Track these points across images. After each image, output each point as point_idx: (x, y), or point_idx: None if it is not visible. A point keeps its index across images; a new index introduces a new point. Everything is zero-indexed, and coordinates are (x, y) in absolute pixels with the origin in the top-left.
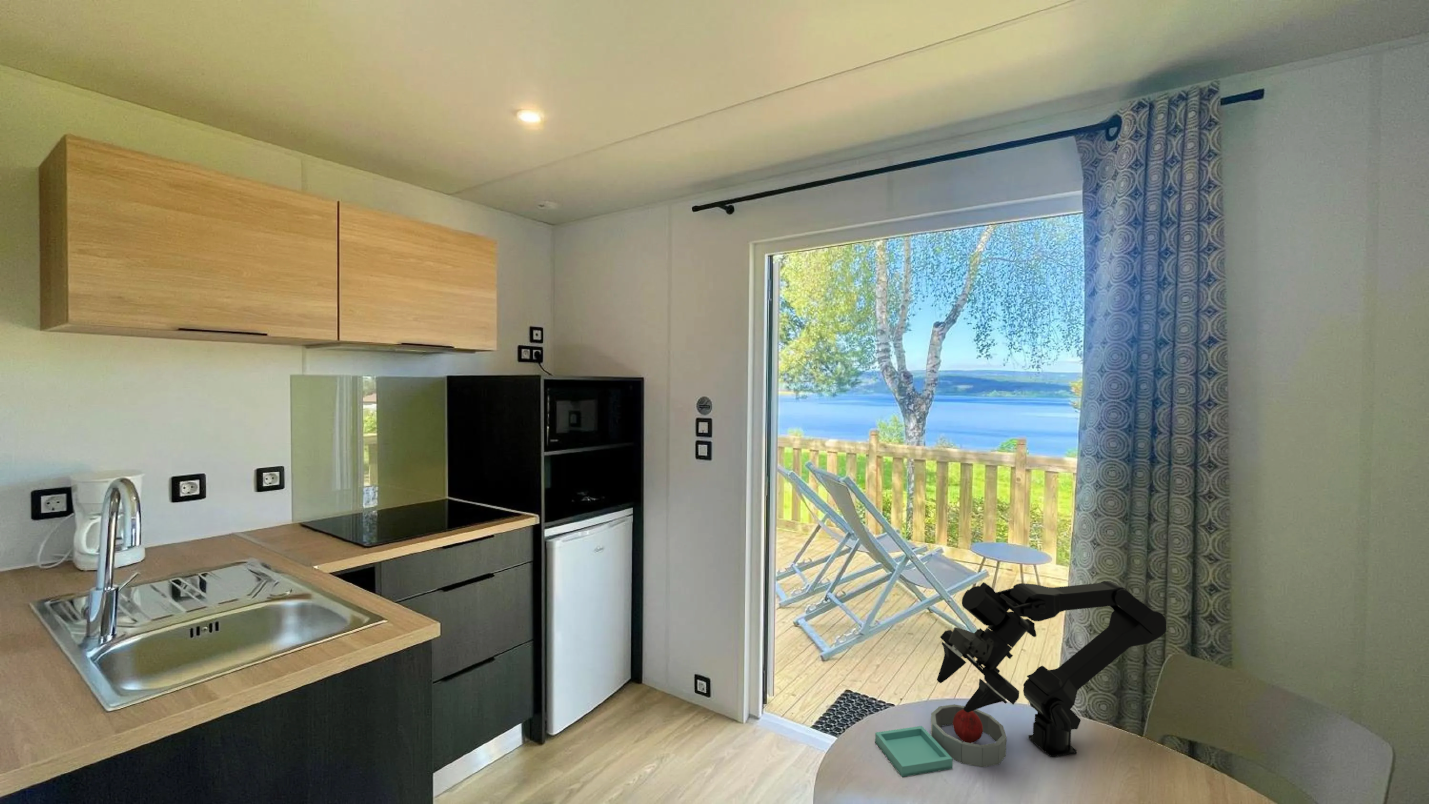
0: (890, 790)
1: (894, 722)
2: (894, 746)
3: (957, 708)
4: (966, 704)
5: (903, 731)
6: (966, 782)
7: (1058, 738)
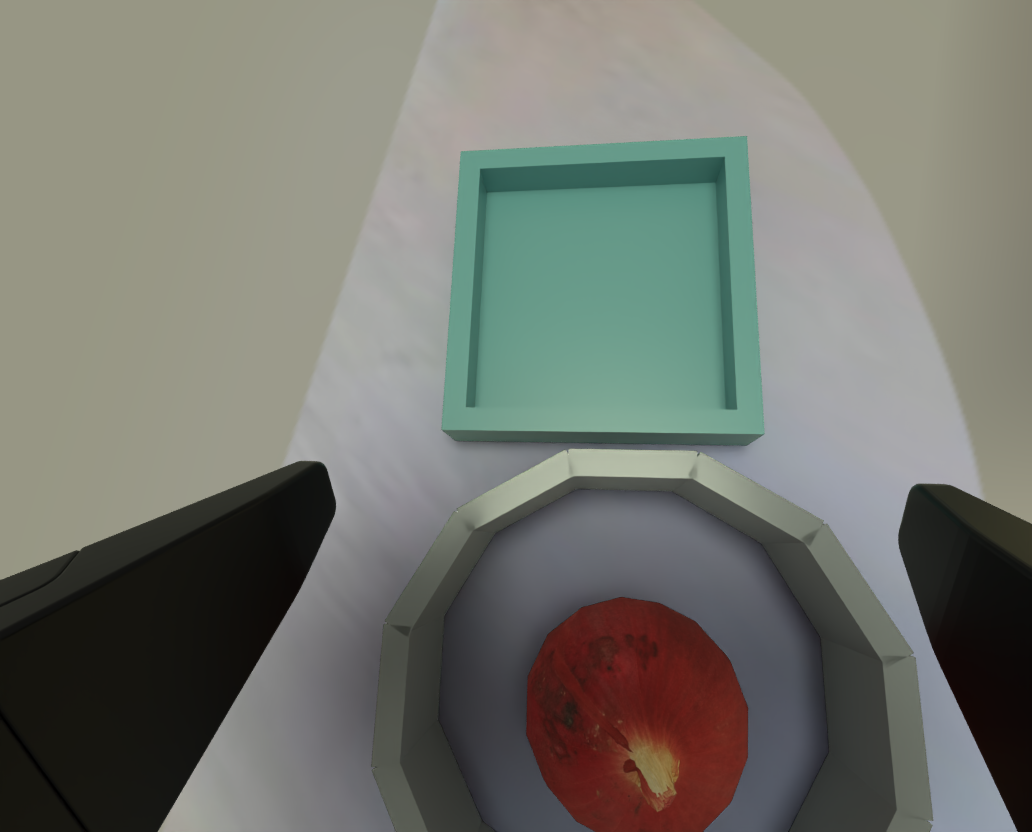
0: (417, 108)
1: (896, 354)
2: (660, 231)
3: (882, 815)
4: (272, 484)
5: (730, 294)
6: (359, 447)
7: None
